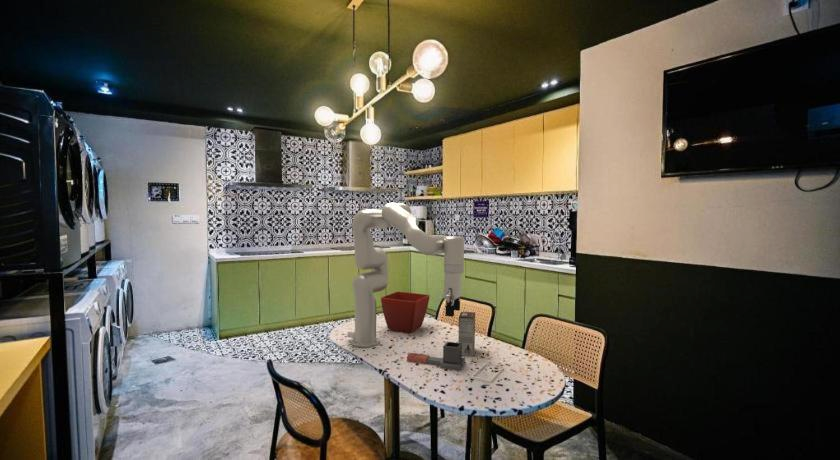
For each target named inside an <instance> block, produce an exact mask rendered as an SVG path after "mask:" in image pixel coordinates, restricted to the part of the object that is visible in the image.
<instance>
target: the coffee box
mask: <svg viewBox="0 0 840 460" xmlns="http://www.w3.org/2000/svg"><path fill="white" fill-rule="evenodd" d="M475 339H476V312H475V311H461V312H460V313H459V316H458V343H462V356H474V353H475V349H476V348H475V347H476V346H475V345H476V344H475V343H476V341H475Z"/></svg>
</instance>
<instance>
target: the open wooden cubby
mask: <svg viewBox="0 0 840 460" xmlns="http://www.w3.org/2000/svg"><path fill="white" fill-rule="evenodd" d="M442 347H443V348H442V358H443V362H447V363H455V364H459V362H460V361H461V359H462V358H463V355H462V343H459V342H454V341H446V342H445V344H443V346H442Z"/></svg>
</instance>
